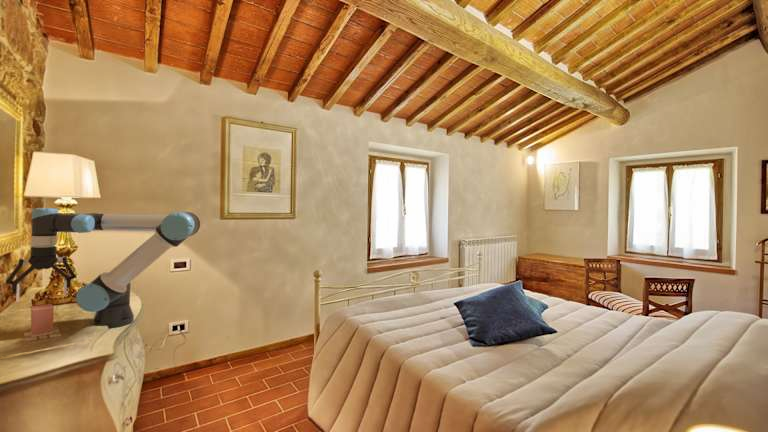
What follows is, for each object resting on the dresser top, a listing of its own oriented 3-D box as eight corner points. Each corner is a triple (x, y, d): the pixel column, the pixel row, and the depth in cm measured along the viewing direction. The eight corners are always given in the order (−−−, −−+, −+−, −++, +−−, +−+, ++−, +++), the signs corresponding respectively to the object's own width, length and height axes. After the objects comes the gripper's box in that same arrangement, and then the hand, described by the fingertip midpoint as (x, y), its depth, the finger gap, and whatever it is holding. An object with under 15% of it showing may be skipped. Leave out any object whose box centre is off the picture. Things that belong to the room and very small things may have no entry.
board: (61, 340, 136) (61, 337, 136) (25, 347, 129) (25, 344, 129) (57, 330, 147) (57, 327, 147) (23, 335, 139) (23, 332, 139)
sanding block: (53, 333, 140) (53, 307, 140) (31, 337, 135) (32, 310, 135) (51, 328, 145) (51, 303, 145) (30, 331, 141) (31, 306, 141)
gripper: (82, 243, 151) (81, 291, 152) (-3, 246, 133) (-5, 301, 133) (85, 245, 146) (83, 295, 147) (-3, 248, 128) (-5, 305, 128)
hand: (42, 298), depth 140 cm, fingers open, 13 cm apart
